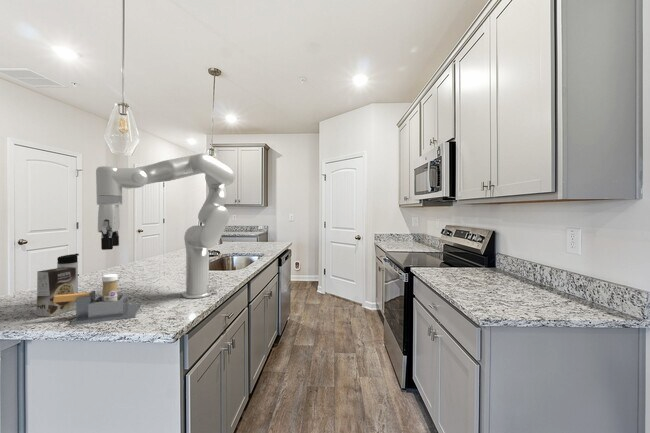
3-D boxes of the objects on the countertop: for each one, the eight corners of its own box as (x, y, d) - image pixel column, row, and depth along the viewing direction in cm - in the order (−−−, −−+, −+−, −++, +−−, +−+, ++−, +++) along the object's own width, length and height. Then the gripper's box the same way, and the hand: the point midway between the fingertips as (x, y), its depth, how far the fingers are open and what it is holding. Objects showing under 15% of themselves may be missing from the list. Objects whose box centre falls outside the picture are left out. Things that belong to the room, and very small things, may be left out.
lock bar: (95, 297, 106) (95, 290, 106) (93, 299, 104) (93, 292, 104) (56, 301, 101) (56, 293, 101) (53, 303, 99) (53, 295, 99)
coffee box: (51, 317, 103) (50, 272, 103) (36, 315, 104) (35, 271, 104) (76, 308, 112) (76, 267, 112) (62, 307, 113) (62, 266, 113)
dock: (141, 305, 117) (141, 286, 117) (135, 317, 104) (135, 295, 104) (84, 311, 109) (84, 290, 109) (71, 325, 97) (71, 301, 97)
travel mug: (80, 303, 119) (80, 254, 118) (58, 307, 114) (58, 256, 113) (77, 299, 123) (77, 252, 122) (56, 303, 118) (56, 254, 118)
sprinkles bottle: (108, 314, 104) (108, 277, 104) (98, 312, 106) (98, 275, 105) (120, 310, 109) (120, 274, 108) (111, 308, 110) (111, 273, 110)
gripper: (103, 201, 112) (104, 245, 113) (89, 200, 97) (90, 251, 97) (126, 201, 116) (127, 244, 116) (116, 200, 100) (117, 250, 100)
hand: (110, 247), depth 107 cm, fingers open, 9 cm apart
